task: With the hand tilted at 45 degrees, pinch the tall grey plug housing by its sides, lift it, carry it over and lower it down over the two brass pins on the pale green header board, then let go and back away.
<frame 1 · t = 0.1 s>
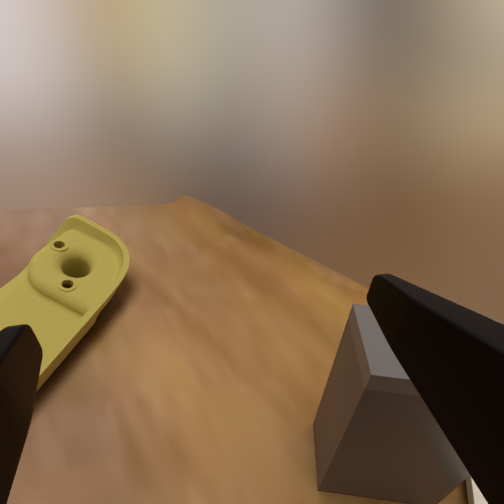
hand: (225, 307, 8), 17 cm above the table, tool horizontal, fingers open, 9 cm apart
plastic component: (40, 337, 27), on the table
plug housing: (367, 461, 20), on the table
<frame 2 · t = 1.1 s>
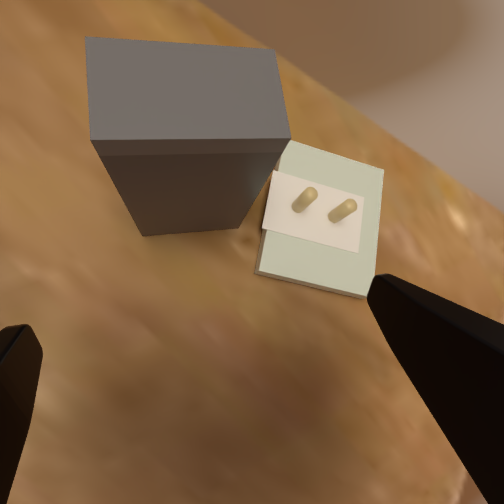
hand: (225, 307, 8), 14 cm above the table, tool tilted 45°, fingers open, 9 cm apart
plug housing: (189, 206, 22), on the table
header board: (318, 221, 24), on the table
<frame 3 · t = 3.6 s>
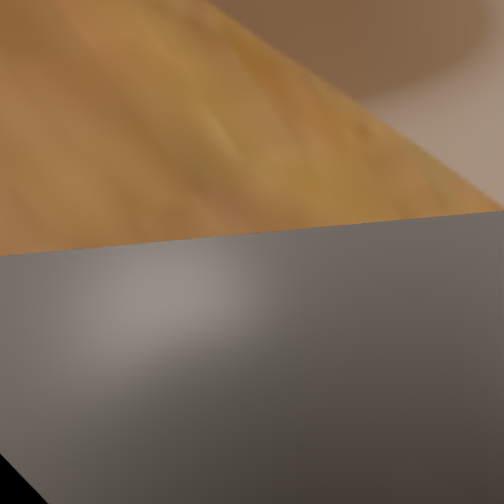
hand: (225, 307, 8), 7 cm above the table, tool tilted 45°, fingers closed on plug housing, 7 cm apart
plug housing: (211, 341, 14), on the table, touching gripper
when the fingers open (9 cm above the table, at t = 8.2 s): plug housing stays where it is, resting on header board.
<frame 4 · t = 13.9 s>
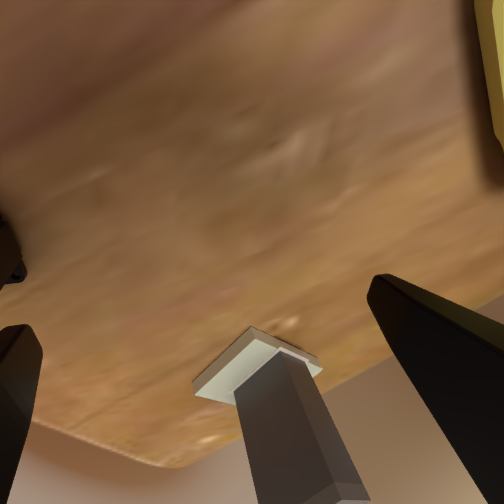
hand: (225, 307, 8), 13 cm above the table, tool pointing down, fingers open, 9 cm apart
plug housing: (269, 376, 31), point 2 cm above the table, touching header board
header board: (258, 369, 32), on the table
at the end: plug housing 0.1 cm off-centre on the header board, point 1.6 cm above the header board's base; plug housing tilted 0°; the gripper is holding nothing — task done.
